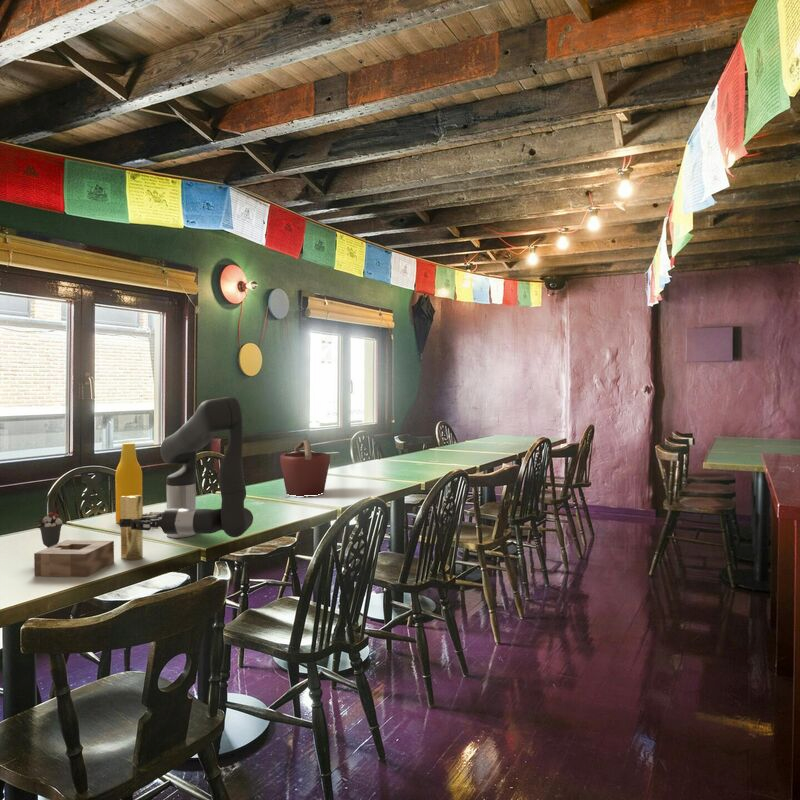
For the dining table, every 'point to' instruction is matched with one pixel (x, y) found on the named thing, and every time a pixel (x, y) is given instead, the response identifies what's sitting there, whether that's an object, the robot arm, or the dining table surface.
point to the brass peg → (129, 537)
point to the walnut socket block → (73, 558)
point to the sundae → (50, 529)
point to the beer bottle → (127, 476)
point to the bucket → (304, 470)
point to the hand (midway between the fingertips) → (126, 520)
